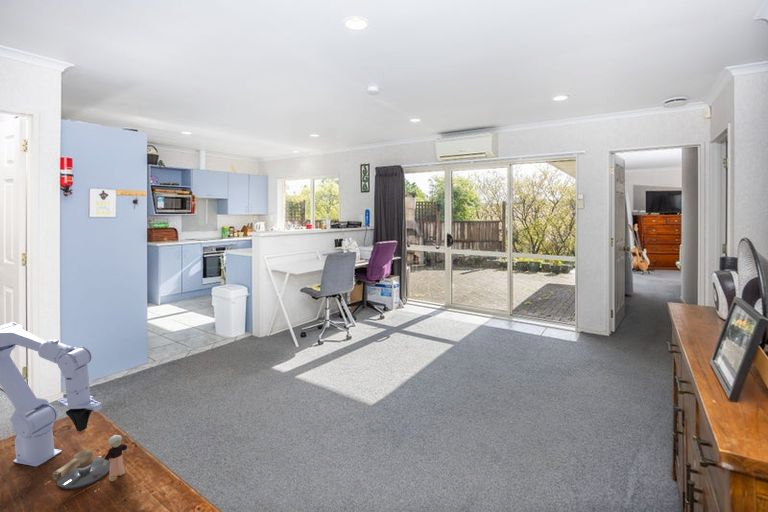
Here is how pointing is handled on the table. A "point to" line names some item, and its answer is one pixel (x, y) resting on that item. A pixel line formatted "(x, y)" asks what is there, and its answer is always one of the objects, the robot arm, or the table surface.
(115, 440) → the grandmother figurine
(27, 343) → the robot arm
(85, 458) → the wooden scoop
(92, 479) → the post base
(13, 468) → the table surface
